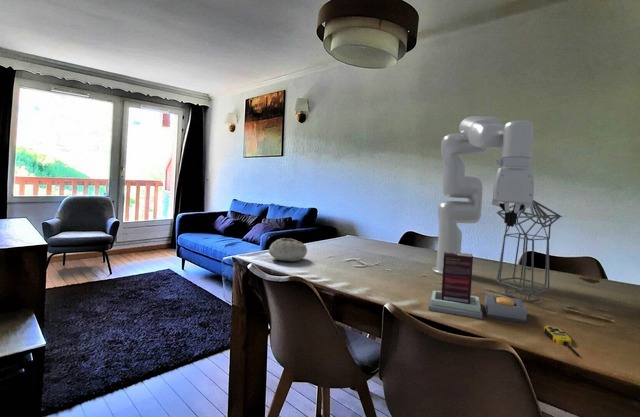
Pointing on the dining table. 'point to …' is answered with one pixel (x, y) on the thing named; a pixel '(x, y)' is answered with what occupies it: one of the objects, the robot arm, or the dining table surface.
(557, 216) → the geometric lantern
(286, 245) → the grey rounded lump
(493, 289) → the dining table surface
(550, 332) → the yellow black handheld tool
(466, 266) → the supplement box
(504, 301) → the button
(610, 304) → the dining table surface
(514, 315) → the button housing
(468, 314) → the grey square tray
